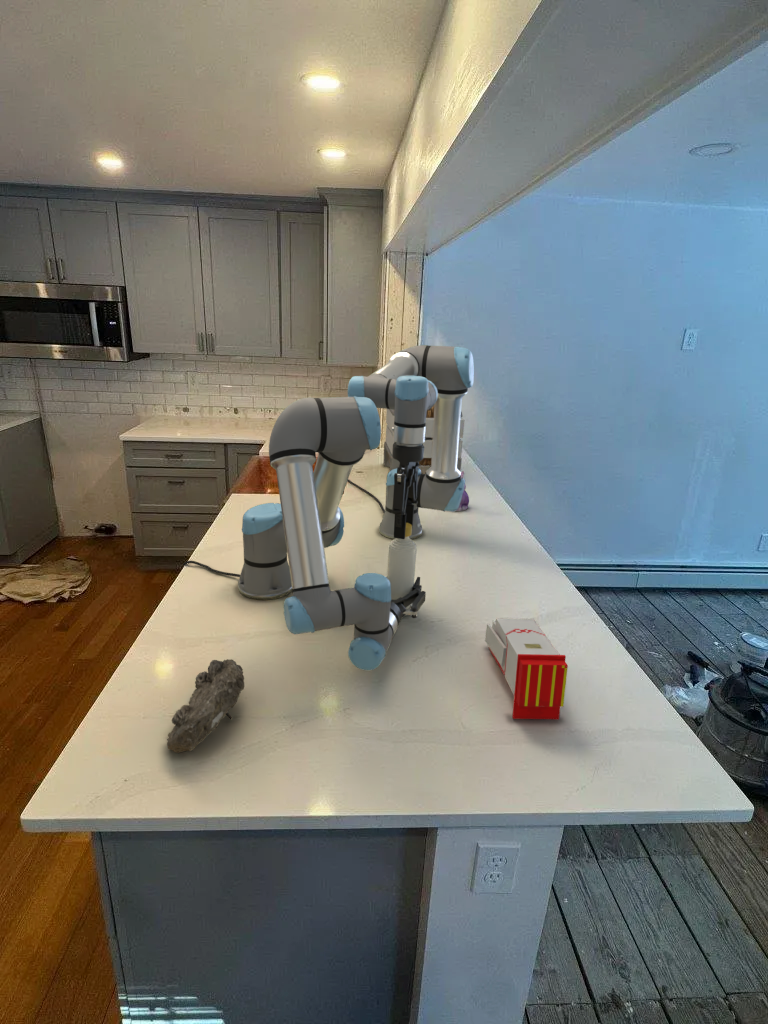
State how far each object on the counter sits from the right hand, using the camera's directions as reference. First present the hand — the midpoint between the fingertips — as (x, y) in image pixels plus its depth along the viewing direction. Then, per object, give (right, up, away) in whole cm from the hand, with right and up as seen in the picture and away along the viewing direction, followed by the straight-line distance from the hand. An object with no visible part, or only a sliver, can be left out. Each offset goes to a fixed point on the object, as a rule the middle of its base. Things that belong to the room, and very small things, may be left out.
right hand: (403, 532), depth 142 cm
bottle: (-1, -21, +7) cm, 22 cm away
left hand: (+1, -13, +10) cm, 16 cm away
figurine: (+25, +7, +86) cm, 90 cm away
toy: (+24, -31, -19) cm, 44 cm away
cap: (0, +2, -1) cm, 2 cm away
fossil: (-38, -34, -34) cm, 61 cm away
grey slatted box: (+12, +24, +132) cm, 135 cm away
